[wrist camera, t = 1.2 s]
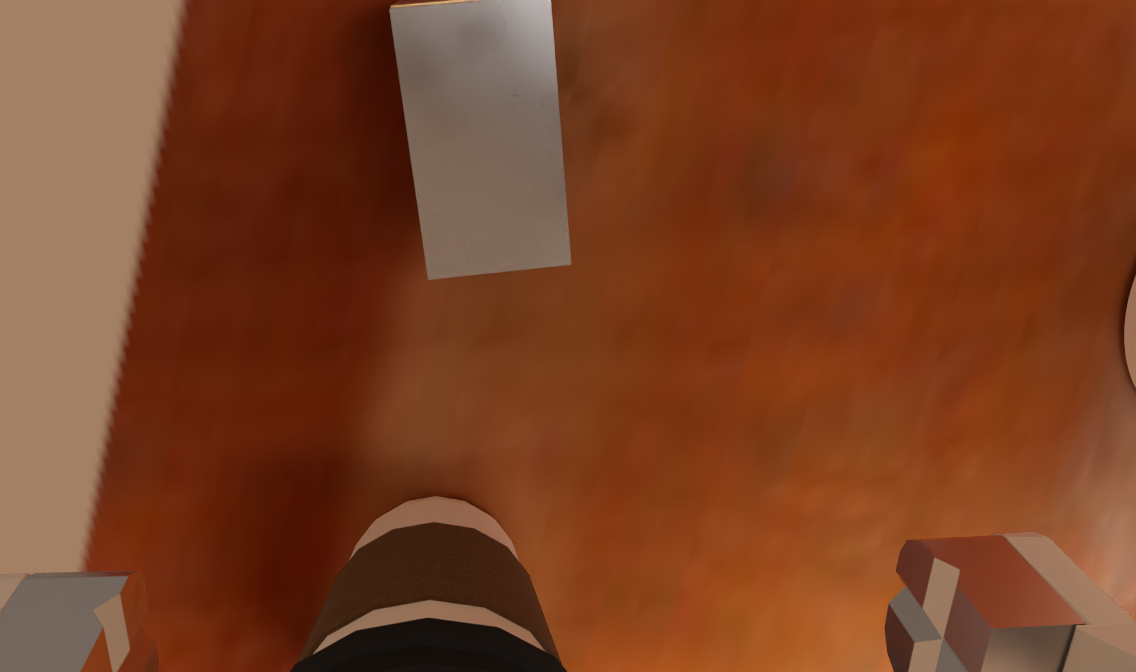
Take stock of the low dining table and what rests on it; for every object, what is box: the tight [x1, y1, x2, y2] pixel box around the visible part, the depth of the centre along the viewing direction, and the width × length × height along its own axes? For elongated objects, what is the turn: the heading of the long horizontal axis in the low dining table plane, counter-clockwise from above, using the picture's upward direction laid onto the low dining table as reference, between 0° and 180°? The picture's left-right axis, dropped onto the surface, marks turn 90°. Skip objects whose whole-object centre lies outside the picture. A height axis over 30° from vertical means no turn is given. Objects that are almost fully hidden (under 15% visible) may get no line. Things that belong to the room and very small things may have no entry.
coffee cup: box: [290, 496, 567, 672], centre depth 34 cm, size 11×11×12 cm
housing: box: [389, 0, 571, 280], centre depth 30 cm, size 4×8×5 cm, turn 4°
